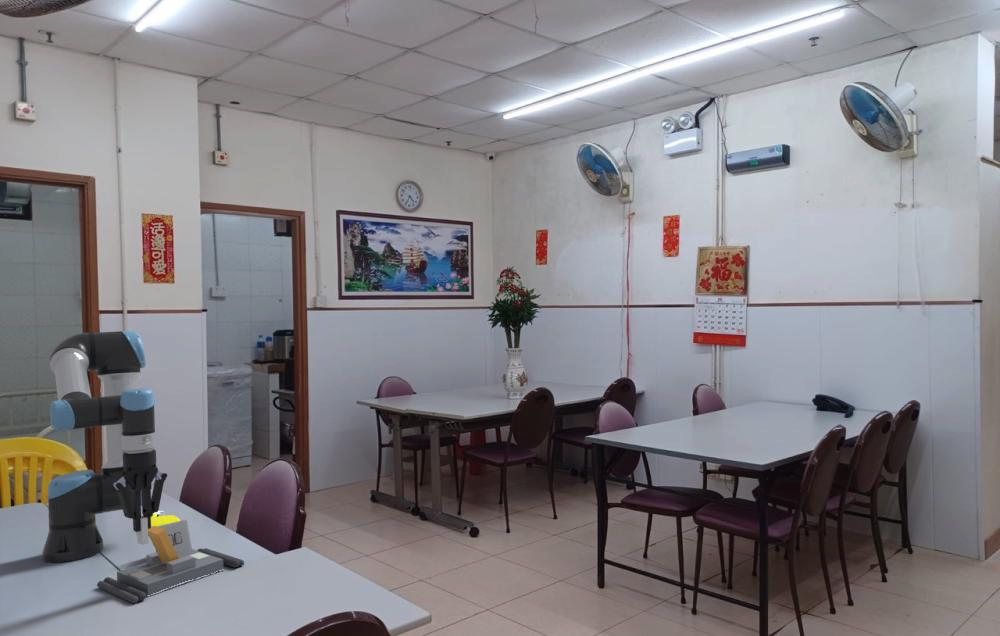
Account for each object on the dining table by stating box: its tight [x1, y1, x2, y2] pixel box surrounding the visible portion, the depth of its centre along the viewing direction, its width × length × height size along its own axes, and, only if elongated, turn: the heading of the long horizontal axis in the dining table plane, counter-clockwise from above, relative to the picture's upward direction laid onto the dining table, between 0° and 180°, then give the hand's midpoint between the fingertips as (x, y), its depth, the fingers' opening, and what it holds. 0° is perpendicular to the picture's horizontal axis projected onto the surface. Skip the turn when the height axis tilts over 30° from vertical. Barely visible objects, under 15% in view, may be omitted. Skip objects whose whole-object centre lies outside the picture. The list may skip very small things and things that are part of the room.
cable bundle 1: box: [96, 576, 147, 604], centre depth 170 cm, size 19×3×2 cm, turn 53°
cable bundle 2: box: [196, 547, 245, 569], centre depth 191 cm, size 19×3×2 cm, turn 53°
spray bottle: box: [141, 510, 181, 527], centre depth 229 cm, size 3×11×24 cm
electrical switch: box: [155, 519, 193, 553], centre depth 198 cm, size 9×5×9 cm, turn 141°
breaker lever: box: [148, 526, 179, 564], centre depth 179 cm, size 7×2×11 cm, turn 53°
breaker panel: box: [116, 548, 224, 595], centre depth 180 cm, size 16×20×5 cm
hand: (142, 542), depth 174 cm, fingers closed
